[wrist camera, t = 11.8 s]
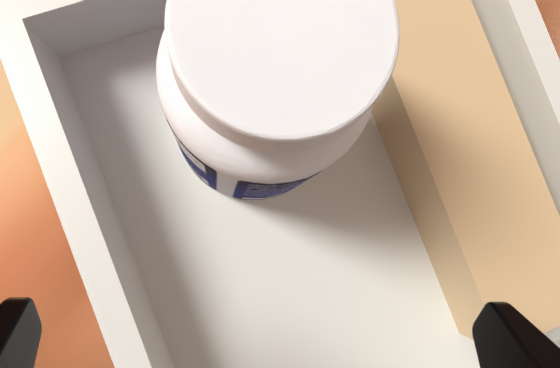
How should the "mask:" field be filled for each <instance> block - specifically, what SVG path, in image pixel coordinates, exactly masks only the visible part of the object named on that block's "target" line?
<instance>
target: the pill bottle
mask: <svg viewBox="0 0 560 368" xmlns="http://www.w3.org/2000/svg"><path fill="white" fill-rule="evenodd" d="M164 26H165V29H164V31H163V34H162V37H161V40H160V44H159V48H158V54H157V59H156V81H157V89H158V95H159V99H160V102H161V106H162V109H163V112H164V114H165V117H166V119H167V122H168V124H169V126H170V128H171V130H172V132H173V135H174V137H175V139H176V141H177V143H178V145H179V148H180V150H181V152H182V154H183V156H184V158H185V160H186V162H187V163H188V165H189V166H190V168H191V169H192V170H193V172H194V173H195V174H196V175H197V176H198V177H199V178H200V179H201V180H202V181H203V182H204V183H205V184H206V185H208V186H209V187H211V188H212V189H214V190H215V191H217V192H219V193H221V194H223V195H226V196H229V197H231V198H236V199H241V200H251V201H255V200H265V199H270V198H274V197H277V196H280V195H282V194H284V193H286V192H288V191H290V190H292V189H294V188H295V187H297V186H298V185H300V184H302V183H303V182H305V181H306V180H308V179H310V178H311V177H313V176H315V175H316V174H318V173H320V172H322V171H323V170H325V169H326V168H328V167H329V166H330V165H332V164H333V163H335V162H336V161H337V160H338V159H339V158H340V157H341V156H343V155H344V154H345V153H346V152H347V151H348V150H349V148H350V147H351V146H352V145H353V144H354V143H355V141H356V140H357V139H358V137H359V136H360V134H361V133H362V131H363V129H364V127H365V126H366V124H367V121H368V119H369V117H370V114H371V111H372V108H373V105H374V103H375V102H376V101H377V100H378V98H379V97H380V96H381V94H382V92H383V91H384V89H385V87H386V85H387V84H388V82H389V80H390V78H391V75H392V73H393V70H394V68H395V65H396V61H397V56H398V51H399V42H400V26H399V17H398V12H397V8H396V4H395V1H394V0H167V1H166V7H165V21H164Z"/></svg>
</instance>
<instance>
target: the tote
mask: <svg viewBox="0 0 560 368" xmlns="http://www.w3.org/2000/svg"><path fill="white" fill-rule="evenodd" d="M166 1H167V0H0V58H1V61H2V64H3V66H4V69H5V72H6V75H7V77H8V80H9V83H10V85H11V88H12V91H13V93H14V96H15V99H16V102H17V104H18V107H19V110H20V112H21V115H22V118H23V121H24V123H25V126H26V129H27V131H28V134H29V137H30V139H31V142H32V145H33V148H34V150H35V153H36V156H37V158H38V161H39V164H40V167H41V169H42V172H43V175H44V177H45V180H46V183H47V185H48V188H49V191H50V194H51V196H52V199H53V202H54V204H55V207H56V210H57V213H58V215H59V218H60V221H61V223H62V226H63V229H64V231H65V234H66V237H67V240H68V242H69V245H70V248H71V250H72V253H73V256H74V259H75V261H76V264H77V267H78V269H79V272H80V275H81V277H82V280H83V283H84V286H85V288H86V291H87V294H88V296H89V299H90V302H91V305H92V307H93V310H94V313H95V315H96V318H97V321H98V323H99V326H100V329H101V332H102V334H103V337H104V340H105V342H106V345H107V348H108V351H109V353H110V356H111V359H112V361H113V364H114V367H115V368H480V365H479V361H478V357H477V352H476V348H475V344H474V340H473V339H471V338H468V337H466V336H464V335H462V334H459V332H458V329H457V327H456V324H455V322H454V319H453V317H452V314H451V312H450V309H449V307H448V304H447V301H446V299H445V296H444V294H443V291H442V289H441V286H440V284H439V281H438V279H437V276H436V274H435V271H434V269H433V266H432V264H431V261H430V259H429V256H428V254H427V251H426V249H425V246H424V244H423V241H422V239H421V236H420V233H419V231H418V228H417V226H416V223H415V221H414V218H413V216H412V213H411V211H410V208H409V206H408V203H407V201H406V198H405V196H404V193H403V191H402V188H401V186H400V183H399V181H398V178H397V176H396V173H395V171H394V168H393V165H392V163H391V160H390V158H389V155H388V153H387V150H386V148H385V145H384V143H383V140H382V138H381V135H380V133H379V130H378V128H377V125H376V123H375V120H374V118H373V115H372V113H371V114H370V117H369V119H368V121H367V124H366V126H365V127H364V129H363V131H362V133H361V134H360V136H359V137H358V139H357V140H356V141H355V143H354V144H353V145H352V146H351V147H350V148H349V150H348V151H347V152H346V153H345V154H344V155H343V156H341V157H340V158H339V159H338V160H337V161H336V162H335V163H333V164H332V165H330V166H329V167H328V168H326V169H325V170H323V171H322V172H320V173H318V174H316V175H315V176H313V177H311V178H310V179H308V180H306V181H305V182H303V183H302V184H300V185H298V186H297V187H295V188H294V189H292V190H290V191H288V192H286V193H284V194H282V195H280V196H277V197H274V198H270V199H265V200H255V201H251V200H241V199H236V198H231V197H229V196H226V195H223V194H221V193H219V192H217V191H215V190H214V189H212V188H211V187H209V186H208V185H206V184H205V183H204V182H203V181H202V180H201V179H200V178H199V177H198V176H197V175H196V174H195V173H194V172H193V170H192V169H191V168H190V166H189V165H188V163H187V162H186V160H185V158H184V156H183V154H182V152H181V150H180V148H179V145H178V143H177V141H176V139H175V137H174V135H173V132H172V130H171V128H170V126H169V124H168V122H167V119H166V117H165V114H164V112H163V109H162V106H161V102H160V99H159V95H158V89H157V81H156V59H157V54H158V48H159V44H160V40H161V37H162V34H163V31H164V29H165V26H164V21H165V7H166ZM471 1H472V3H473V6H474V8H475V11H476V13H477V15H478V18H479V20H480V23H481V25H482V28H483V30H484V33H485V35H486V37H487V40H488V42H489V45H490V47H491V50H492V52H493V55H494V57H495V60H496V62H497V64H498V67H499V69H500V72H501V74H502V77H503V79H504V82H505V84H506V86H507V89H508V91H509V94H510V96H511V99H512V101H513V104H514V106H515V108H516V111H517V113H518V116H519V118H520V121H521V123H522V126H523V128H524V131H525V133H526V135H527V138H528V140H529V143H530V145H531V148H532V150H533V153H534V155H535V157H536V160H537V162H538V165H539V167H540V170H541V172H542V175H543V177H544V179H545V182H546V184H547V187H548V189H549V192H550V194H551V197H552V199H553V202H554V204H555V206H556V209H557V211H558V214H559V216H560V60H559V58H558V55H557V53H556V50H555V48H554V45H553V43H552V41H551V38H550V36H549V33H548V31H547V29H546V26H545V24H544V21H543V19H542V16H541V14H540V12H539V9H538V7H537V4H536V2H535V0H471ZM544 334H545V335H546V336H547V337H548V338H549V339H550V340H551V341H553V342H554V343H555V344H556V345H557V346H558V347H559V348H560V326H558V327H556V328H554V329H552V330H550V331H548V332H546V333H544Z"/></svg>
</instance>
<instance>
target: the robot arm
mask: <svg viewBox="0 0 560 368" xmlns="http://www.w3.org/2000/svg"><path fill="white" fill-rule="evenodd" d="M41 331H42V325H41V321H40V318H39V315H38V312H37V309H36V306H35V304H34V301H33V300H32V299H31V298H29V297H10V298H7V299H5V300H4V301H3V302H2V303H1V304H0V368H34V364H35V359H36V355H37V351H38V346H39V342H40V337H41ZM472 335H473V340H474V344H475V348H476V352H477V357H478V361H479V365H480V368H560V348H559V347H558V346H557V345H556V344H555V343H554V342H553V341H551V340H550V339H549V338H548V337H547V336H546V335H545V334H544V333H542V332H541V331H540V330H539V329H538V328H537V327H536V326H535V325H533V324H532V323H531V322H530V321H529V320H528V319H527V318H526V317H524V316H523V315H522V314H521V313H520V312H519V311H518V310H517V309H515V308H514V307H513V306H512V305H511V304H509V303H507V302H488V303H486V304H485V305H484V307H483V309H482V310H481V312H480V313H479V315H478V317H477V318H476V320H475V321H474V323H473V326H472Z"/></svg>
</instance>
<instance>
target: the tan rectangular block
mask: <svg viewBox="0 0 560 368" xmlns="http://www.w3.org/2000/svg"><path fill="white" fill-rule="evenodd" d="M394 1H395V4H396V8H397V12H398V17H399V26H400V42H399V51H398V56H397V61H396V65H395V68H394V70H393V73H392V75H391V78H390V80H389V82H388V84H387V85H386V87H385V89H384V91H383V92H382V94H381V96H380V97H379V98H378V100H377V101H376V102H375V103H374V105H373V108H372V111H371V113H372V115H373V118H374V120H375V123H376V125H377V128H378V130H379V133H380V135H381V138H382V140H383V143H384V145H385V148H386V150H387V153H388V155H389V158H390V160H391V163H392V165H393V168H394V171H395V173H396V176H397V178H398V181H399V183H400V186H401V188H402V191H403V193H404V196H405V198H406V201H407V203H408V206H409V208H410V211H411V213H412V216H413V218H414V221H415V223H416V226H417V228H418V231H419V233H420V236H421V239H422V241H423V244H424V246H425V249H426V251H427V254H428V256H429V259H430V261H431V264H432V266H433V269H434V271H435V274H436V276H437V279H438V281H439V284H440V286H441V289H442V291H443V294H444V296H445V299H446V301H447V304H448V307H449V309H450V312H451V314H452V317H453V319H454V322H455V324H456V327H457V329H458V332H459V334H462V335H464V336H466V337H468V338H471V339H473V335H472V326H473V323H474V321H475V320H476V318H477V317H478V315H479V313H480V312H481V310H482V309H483V307H484V305H485V304H486V303H488V302H507V303H509V304H511V305H512V306H513V307H514V308H515V309H517V310H518V311H519V312H520V313H521V314H522V315H523V316H524V317H526V318H527V319H528V320H529V321H530V322H531V323H532V324H533V325H535V326H536V327H537V328H538V329H539V330H540V331H541V332H542V333H546V332H548V331H550V330H552V329H554V328H556V327H558V326H560V216H559V214H558V211H557V209H556V206H555V204H554V202H553V199H552V197H551V194H550V192H549V189H548V187H547V184H546V182H545V179H544V177H543V175H542V172H541V170H540V167H539V165H538V162H537V160H536V157H535V155H534V153H533V150H532V148H531V145H530V143H529V140H528V138H527V135H526V133H525V131H524V128H523V126H522V123H521V121H520V118H519V116H518V113H517V111H516V108H515V106H514V104H513V101H512V99H511V96H510V94H509V91H508V89H507V86H506V84H505V82H504V79H503V77H502V74H501V72H500V69H499V67H498V64H497V62H496V60H495V57H494V55H493V52H492V50H491V47H490V45H489V42H488V40H487V37H486V35H485V33H484V30H483V28H482V25H481V23H480V20H479V18H478V15H477V13H476V11H475V8H474V6H473V3H472V1H471V0H394Z"/></svg>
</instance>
